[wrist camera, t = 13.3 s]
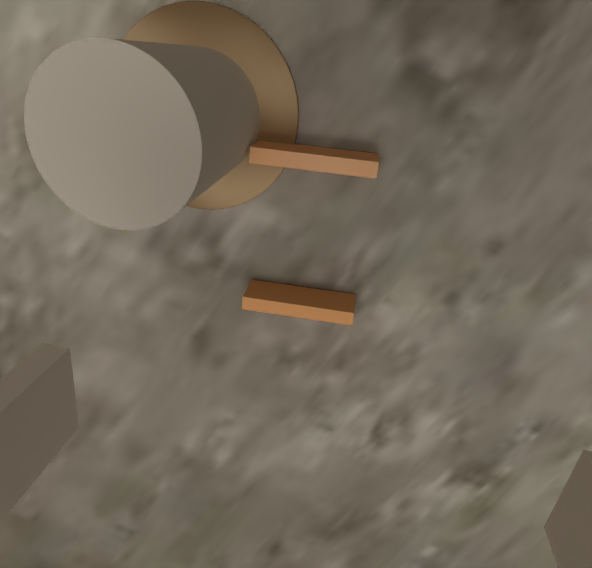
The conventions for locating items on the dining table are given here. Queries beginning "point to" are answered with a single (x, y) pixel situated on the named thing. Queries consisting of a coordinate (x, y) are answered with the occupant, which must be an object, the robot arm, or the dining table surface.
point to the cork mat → (259, 69)
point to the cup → (137, 126)
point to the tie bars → (296, 297)
